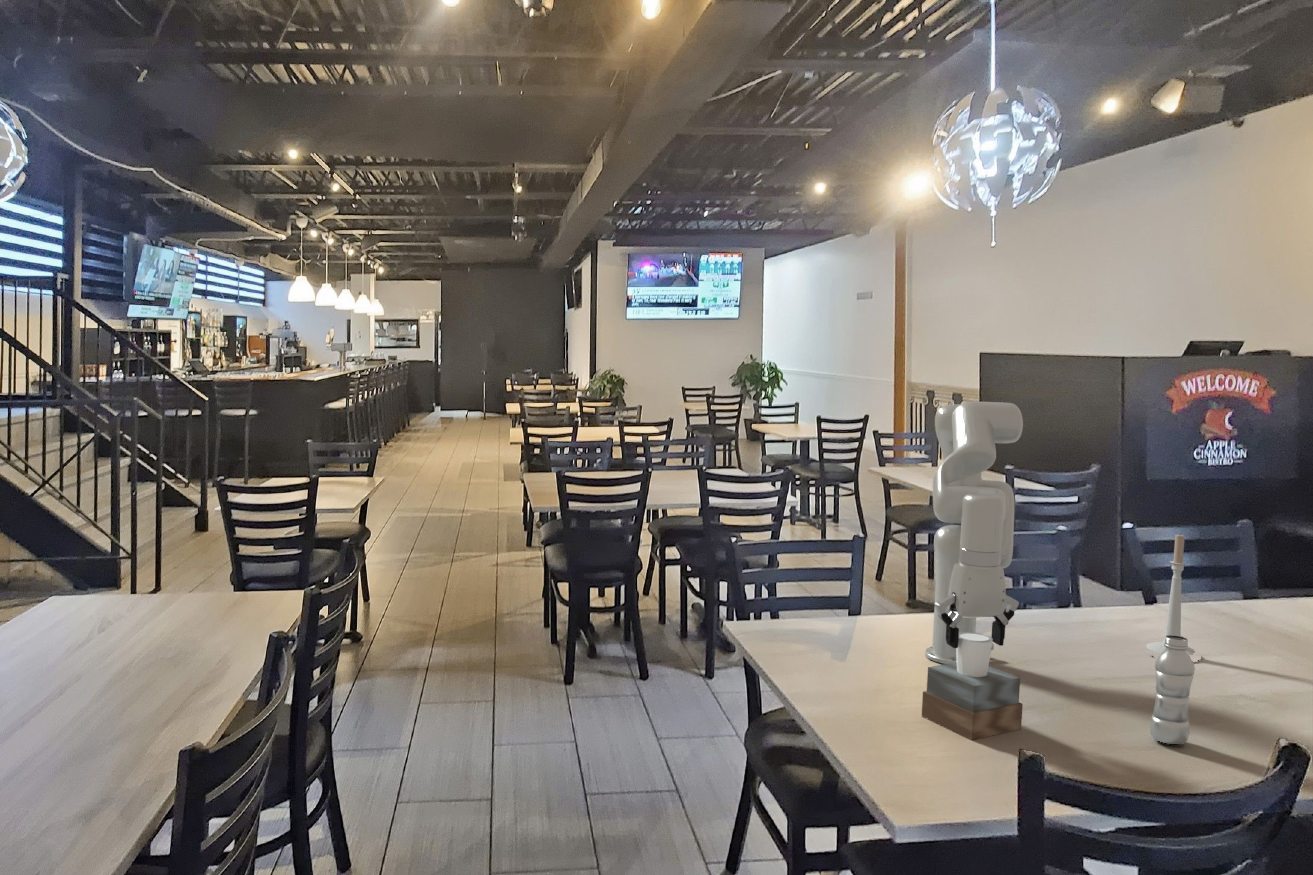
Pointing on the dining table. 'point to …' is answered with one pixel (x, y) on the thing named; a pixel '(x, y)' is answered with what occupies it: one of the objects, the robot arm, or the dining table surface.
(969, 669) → the white grey-rimmed cylinder
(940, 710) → the grey and wood block
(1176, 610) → the candlestick
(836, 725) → the dining table surface
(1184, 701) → the plastic bottle
